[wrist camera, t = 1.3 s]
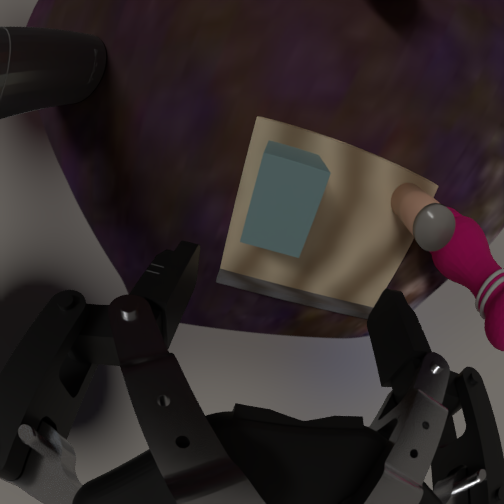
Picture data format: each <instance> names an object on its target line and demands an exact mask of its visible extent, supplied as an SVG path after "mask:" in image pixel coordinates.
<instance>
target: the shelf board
mask: <svg viewBox="0 0 504 504" xmlns="http://www.w3.org/2000/svg"><path fill="white" fill-rule="evenodd" d="M269 140H270V141H274V142H278V143H281V144H285V145H288V146H291V147H295V148H298V149H301V150H305V151H308V152H311V153H314V154H317V155H319V156H320V158H321V159H322V161H323V162H324V163H325V165H326V166H327V168H328V169H329V171H330V172H331V174H330V177H329V180H328V183H327V185H326V188H325V191H324V194H323V197H322V199H321V202H320V205H319V207H318V210H317V213H316V215H315V218H314V221H313V223H312V226H311V229H310V231H309V234H308V236H307V239H306V241H305V244H304V247H303V249H302V251H301V254H300V256H299V258H297V257H293V256H289V255H286V254H282V253H278V252H275V251H271V250H267V249H264V248H260V247H256V246H253V245H249V244H245V243H242V242H240V239H241V236H242V232H243V228H244V224H245V220H246V216H247V213H248V209H249V205H250V201H251V198H252V194H253V190H254V186H255V183H256V179H257V175H258V171H259V168H260V164H261V160H262V157H263V153H264V150H265V148H266V146H267V143H268V141H269ZM404 183H413V184H415V185H417V186H418V187H420V188H421V189H422V190H424V191H425V192H426V193H428V194H429V195H430V196H431V197H434V195H435V193H436V190H437V188H438V186H437V185H436V184H435V183H433V182H431V181H430V180H428V179H426V178H424V177H422V176H420V175H418V174H416V173H414V172H412V171H410V170H408V169H406V168H404V167H401V166H399V165H397V164H395V163H393V162H391V161H388V160H386V159H384V158H382V157H379V156H377V155H375V154H372V153H370V152H367V151H365V150H362V149H360V148H357V147H355V146H352V145H350V144H347V143H344V142H342V141H339V140H336V139H333V138H331V137H328V136H325V135H322V134H319V133H316V132H313V131H310V130H306V129H303V128H300V127H297V126H293V125H290V124H287V123H283V122H279V121H276V120H272V119H268V118H264V117H260V116H257V119H256V123H255V126H254V130H253V134H252V138H251V142H250V146H249V149H248V153H247V157H246V161H245V165H244V169H243V173H242V177H241V181H240V185H239V189H238V194H237V198H236V202H235V206H234V210H233V214H232V219H231V223H230V227H229V232H228V236H227V240H226V245H225V249H224V253H223V258H222V262H221V267H220V270H219V273H218V276H217V280H216V282H218V283H221V284H225V285H229V286H232V287H236V288H240V289H243V290H247V291H251V292H255V293H259V294H263V295H266V296H270V297H274V298H278V299H282V300H286V301H290V302H294V303H299V304H303V305H307V306H311V307H315V308H320V309H324V310H328V311H333V312H337V313H341V314H346V315H351V316H355V317H360V318H364V319H368V317H369V314H370V312H371V311H372V309H373V307H374V306H375V304H376V302H377V301H378V299H379V297H380V295H381V294H382V292H383V291H384V290H385V289H386V287H387V286H388V284H389V282H390V281H391V279H392V277H393V276H394V274H395V272H396V271H397V269H398V267H399V265H400V263H401V262H402V260H403V258H404V256H405V254H406V253H407V251H408V249H409V247H410V245H411V243H412V241H413V239H414V236H413V235H412V234H411V232H410V231H409V230H408V229H407V228H406V226H405V225H404V224H403V223H402V222H401V220H400V219H399V218H398V217H397V216H396V214H395V213H394V212H393V210H392V208H391V197H392V194H393V192H394V191H395V189H396V188H397V187H398V186H400V185H401V184H404Z"/></svg>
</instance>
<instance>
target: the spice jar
mask: <svg viewBox="0 0 504 504" xmlns="http://www.w3.org/2000/svg"><path fill="white" fill-rule="evenodd" d="M391 208H392V210H393V212H394V213H395V214H396V216H397V217H398V218H399V219H400V220H401V222H402V223H403V224H404V225H405V226H406V228H407V229H408V230H409V231H410V232H411V234H412V235H413V236H414V238H415V240H416V242H417V243H418V244H419V246H420V247H421V248H422V249H424V250H426V251H437V250H439V249H441V248H443V247H444V246H445V245H447V244H448V242H449V241H450V240H451V238H452V236H453V234H454V231H455V218H454V215H453V213H452V212H451V211H450V210H449V209H448V208H447V207H446V206H444V205H443V204H440V203H439V202H438V201H436V200H435V199H434V198H433V197H431V196H430V195H429V194H428V193H426V192H425V191H424V190H422V189H421V188H420V187H418V186H417V185H415V184H413V183H404V184H401V185H400V186H398V187H397V188H396V189H395V191H394V192H393V194H392V197H391Z"/></svg>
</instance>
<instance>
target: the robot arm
mask: <svg viewBox="0 0 504 504" xmlns="http://www.w3.org/2000/svg"><path fill="white" fill-rule="evenodd" d="M105 65H106V50H105V46H104V44H103V42H102V41H101V40H100V39H99V38H98V37H96V36H94V35H91V34H85V33H79V32H73V31H67V30H59V29H49V28H37V27H0V119H3V118H6V117H10V116H14V115H17V114H21V113H25V112H29V111H34V110H39V109H44V108H49V107H55V106H60V105H66V104H73V103H77V102H80V101H82V100H84V99H86V98H87V97H88V96H89V95H90V94H91V93H92V92H93V91H94V90H95V89H96V87H97V85H98V84H99V82H100V80H101V78H102V76H103V73H104V69H105ZM199 255H200V245H199V244H194V243H190V242H186V241H181V242H180V244H179V245H178V247H177V248H176V250H175V251H170V250H165V251H163V252H162V253H160V254H158V255H157V256H156V257H155V259H154V260H153V261H152V263H151V265H149V267H148V268H147V271H145V272H144V274H143V275H142V277H141V278H140V279H139V281H138V282H137V284H136V285H135V287H134V288H133V289H132V291H131V292H130V294H129V295H122V296H120V297H118V298H116V299H114V300H113V301H112V302H111V303H110V305H94V304H86V301H85V298H84V296H83V295H82V294H81V293H79V292H77V291H74V290H65V291H61V292H59V293H57V294H55V295H54V296H53V297H52V298H51V299H50V301H49V302H48V303H47V305H46V306H45V307H44V308H43V310H42V311H41V312H40V314H39V315H38V317H37V318H36V319H35V321H34V322H33V324H32V325H31V327H30V328H29V329H28V331H27V332H26V334H25V335H24V336H23V338H22V340H21V341H20V343H19V344H18V346H17V347H16V349H15V350H14V352H13V353H12V355H11V357H10V358H9V360H8V361H7V363H6V365H5V366H4V368H3V370H2V372H1V373H0V478H1V479H2V480H4V481H6V482H9V483H11V484H14V485H16V486H18V487H19V488H21V489H22V490H24V491H25V492H27V493H28V494H29V495H31V496H32V497H34V498H36V499H37V500H39V501H40V502H42V503H44V504H504V458H503V452H502V447H501V442H500V437H499V433H498V429H497V425H496V422H495V417H494V414H493V410H492V407H491V404H490V401H489V398H488V394H487V392H486V389H485V386H484V383H483V380H482V378H481V376H480V374H479V373H478V372H477V371H476V370H475V369H474V368H472V367H466V368H465V369H464V370H463V371H462V372H461V373H460V374H458V373H455V372H452V371H450V369H449V365H448V363H447V362H446V360H445V359H444V358H443V357H442V356H441V355H439V354H437V353H435V352H432V351H431V349H430V346H429V344H428V341H427V339H426V337H425V335H424V332H423V330H422V327H421V325H420V323H418V322H419V321H418V318H417V316H416V314H415V312H414V311H413V310H412V308H411V307H410V306H409V305H408V303H407V301H406V299H405V297H404V295H403V293H402V292H401V291H396V290H392V289H385V290H384V291H383V292H382V294H381V295H380V297H379V299H378V301H377V302H376V304H375V306H374V307H373V309H372V311H371V312H370V314H369V317H368V321H367V328H368V332H369V335H370V339H371V343H372V347H373V351H374V355H375V359H376V364H377V368H378V373H379V377H380V382H381V386H382V387H392V389H393V390H392V391H391V392H390V393H389V394H388V396H387V398H386V399H385V401H384V403H383V405H382V407H381V408H380V410H379V412H378V414H377V416H376V417H375V419H374V420H373V422H372V424H371V425H370V426H369V427H366V426H364V425H363V417H356V416H331V417H326V418H321V419H315V420H309V421H301V420H298V419H295V418H292V417H289V416H287V415H284V414H281V413H278V412H275V411H273V410H270V409H264V408H258V407H253V406H247V405H242V404H235V406H234V409H233V411H232V412H220V413H214V414H210V415H207V416H205V415H204V413H203V411H202V409H201V407H200V405H199V403H198V401H197V400H196V398H195V396H194V394H193V392H192V390H191V388H190V386H189V384H188V382H187V380H186V378H185V376H184V373H183V371H182V369H181V367H180V365H179V363H178V361H177V359H176V357H175V355H174V354H173V353H169V352H168V350H167V349H168V348H169V346H170V343H171V341H172V339H173V336H174V334H175V332H176V329H177V327H178V324H179V322H180V320H181V318H182V315H183V313H184V311H185V309H186V306H187V304H188V302H189V299H190V297H191V295H192V293H193V290H194V288H195V284H196V280H197V273H198V263H199ZM98 364H104V365H116V366H120V367H121V371H122V374H123V378H124V381H125V384H126V387H127V390H128V394H129V396H130V400H131V402H132V405H133V408H134V411H135V414H136V416H137V419H138V422H139V424H140V427H141V429H142V432H143V434H144V437H145V439H146V442H147V444H148V446H149V450H147V451H145V452H144V453H142V454H140V455H138V456H137V457H135V458H133V459H132V460H130V461H128V462H126V463H124V464H122V465H120V466H119V467H117V468H115V469H113V470H111V471H109V472H107V473H105V474H103V475H101V476H99V477H97V478H95V479H93V480H91V481H89V482H87V483H86V484H84V485H81V483H80V482H79V480H78V478H77V476H76V472H75V463H76V455H75V452H74V449H73V447H72V445H71V444H70V443H69V442H68V441H67V437H68V435H69V432H70V429H71V427H72V424H73V422H74V419H75V417H76V414H77V411H78V409H79V407H80V405H81V402H82V400H83V397H84V395H85V393H86V391H87V388H88V386H89V384H90V381H91V379H92V377H93V375H94V373H95V371H96V368H97V366H98ZM461 408H462V410H463V414H464V418H465V422H466V430H465V432H464V434H463V435H462V436H461V437H459V438H458V439H457V436H456V431H455V426H454V422H453V417H452V415H454V414H455V413H456V412H457V411H459V410H460V409H461ZM430 465H431V469H432V482H433V491H432V490H431V489H430V488H429V487H428V486H427V485H426V483H425V482H424V479H425V476H426V474H427V472H428V469H429V467H430Z"/></svg>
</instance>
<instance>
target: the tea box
mask: <svg viewBox="0 0 504 504" xmlns="http://www.w3.org/2000/svg"><path fill="white" fill-rule="evenodd" d="M330 174H331V172H330V171H329V169H328V168H327V166H326V165H325V163H324V162H323V161H322V159H321V158H320V156H319V155H317V154H314V153H311V152H308V151H305V150H301V149H298V148H295V147H291V146H288V145H285V144H281V143H278V142H274V141H270V140H269V141H268V143H267V146H266V148H265V150H264V153H263V157H262V160H261V164H260V168H259V171H258V175H257V179H256V183H255V186H254V190H253V194H252V198H251V201H250V205H249V209H248V213H247V216H246V220H245V224H244V228H243V232H242V236H241V239H240V242H242V243H245V244H249V245H253V246H256V247H260V248H264V249H267V250H271V251H275V252H278V253H282V254H286V255H289V256H293V257H297V258H299V256H300V254H301V251H302V249H303V247H304V244H305V241H306V239H307V236H308V234H309V231H310V229H311V226H312V223H313V221H314V218H315V215H316V213H317V210H318V207H319V205H320V202H321V199H322V197H323V194H324V191H325V188H326V185H327V183H328V180H329V177H330Z"/></svg>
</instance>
